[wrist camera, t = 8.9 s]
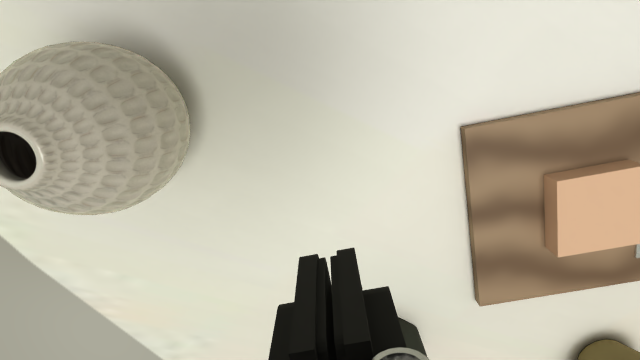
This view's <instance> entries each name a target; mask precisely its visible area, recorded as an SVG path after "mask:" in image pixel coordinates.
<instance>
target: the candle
mask: <svg viewBox="0 0 640 360" xmlns="http://www.w3.org/2000/svg"><path fill="white" fill-rule="evenodd" d="M398 320H399V323H400V326H401V330H402V333H403V337H404V340H405V343H406V347H407V348H410V349H413V350H416V351H419V352H420V353H422V354H423V355H425V356H427V355H426V352H425V349H424V346H423V343H422V341H421V338H420V335H419V332H418V330H417V328H416V326H414V325H413V324H411V323H409V322H407V321H405V320H403V319H401V318H399V317H398ZM427 358H428V357H427Z"/></svg>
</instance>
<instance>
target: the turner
mask: <svg viewBox="0 0 640 360" xmlns="http://www.w3.org/2000/svg"><path fill="white" fill-rule="evenodd" d="M634 257H635V258H640V244H636V245H635V253H634Z"/></svg>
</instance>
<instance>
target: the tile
mask: <svg viewBox="0 0 640 360" xmlns="http://www.w3.org/2000/svg"><path fill="white" fill-rule="evenodd" d="M544 209H545V247H546V248H547V249H548V250H549V251H551V252H552V253H553V254H554V255H555V256H557V257H564V256H570V255H576V254H582V253H588V252H594V251H600V250H606V249H612V248H618V247H624V246H630V245H636V244H640V163H638V162H635V161H631V160H622V161H617V162H611V163H606V164H600V165H595V166H589V167H584V168H578V169H573V170H567V171H562V172H556V173H551V174H545V175H544Z"/></svg>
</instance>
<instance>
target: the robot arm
mask: <svg viewBox="0 0 640 360" xmlns="http://www.w3.org/2000/svg"><path fill="white" fill-rule="evenodd" d="M330 259H331V281H332V285H331V281H330V276H329V272H328V267H327V262H326V259H325V258H320V259H319V257H318V254H315V255H309V256H304V257H300V258H299V265H298V274H297V283H296V292H295V301H294V302H293V303H287V304H281V305H279V306H278V309H277V315H276V320H275V326H274V331H273V337H272V343H271V348H270V354H269V360H429V359H428V358H427V356H425V355H423V354H422V353H420V352H419V351H416V350H413V349H410V348H407V347H406V343H405V340H404V337H403V333H402V330H401V326H400V323H399V320H398V316H397V313H396V310H395V306H394V303H393V299H392V296H391V293H390V290H389V287H388V286H387V287H381V288H375V289H369V290H363V291H362V285H361V280H360V275H359V270H358V265H357V259H356V254H355V249H354V248H349V249H343V250H338V251H337V256H331V257H330Z"/></svg>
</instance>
